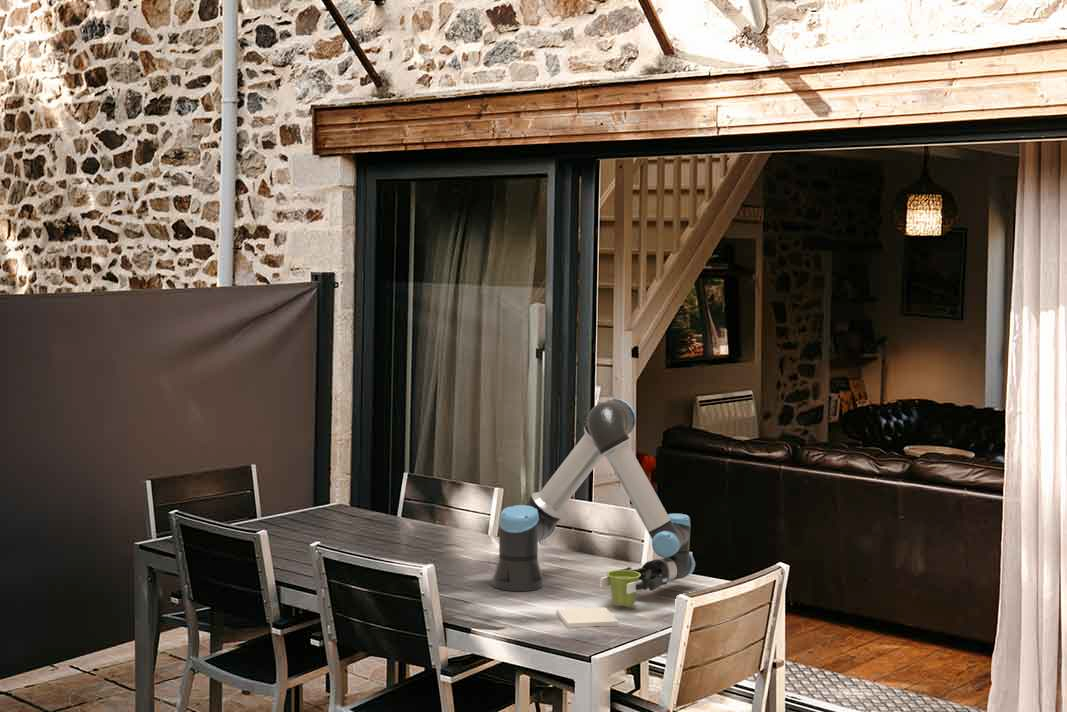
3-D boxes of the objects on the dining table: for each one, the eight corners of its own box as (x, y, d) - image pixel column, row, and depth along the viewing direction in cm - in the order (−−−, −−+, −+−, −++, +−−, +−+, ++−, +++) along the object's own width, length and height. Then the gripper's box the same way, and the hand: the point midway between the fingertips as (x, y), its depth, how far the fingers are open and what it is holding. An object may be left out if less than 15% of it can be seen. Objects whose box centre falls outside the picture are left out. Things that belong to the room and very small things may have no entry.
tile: (556, 613, 347) (556, 609, 346) (605, 611, 349) (605, 607, 349) (567, 627, 333) (567, 623, 333) (618, 625, 336) (618, 621, 336)
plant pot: (621, 610, 347) (622, 579, 346) (600, 602, 354) (600, 572, 354) (646, 605, 352) (647, 575, 352) (625, 597, 360) (625, 568, 359)
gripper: (689, 590, 361) (645, 606, 343) (628, 578, 374) (583, 592, 356) (689, 565, 360) (646, 579, 342) (629, 553, 373) (584, 566, 356)
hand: (614, 586), depth 349 cm, fingers closed on plant pot, 8 cm apart
